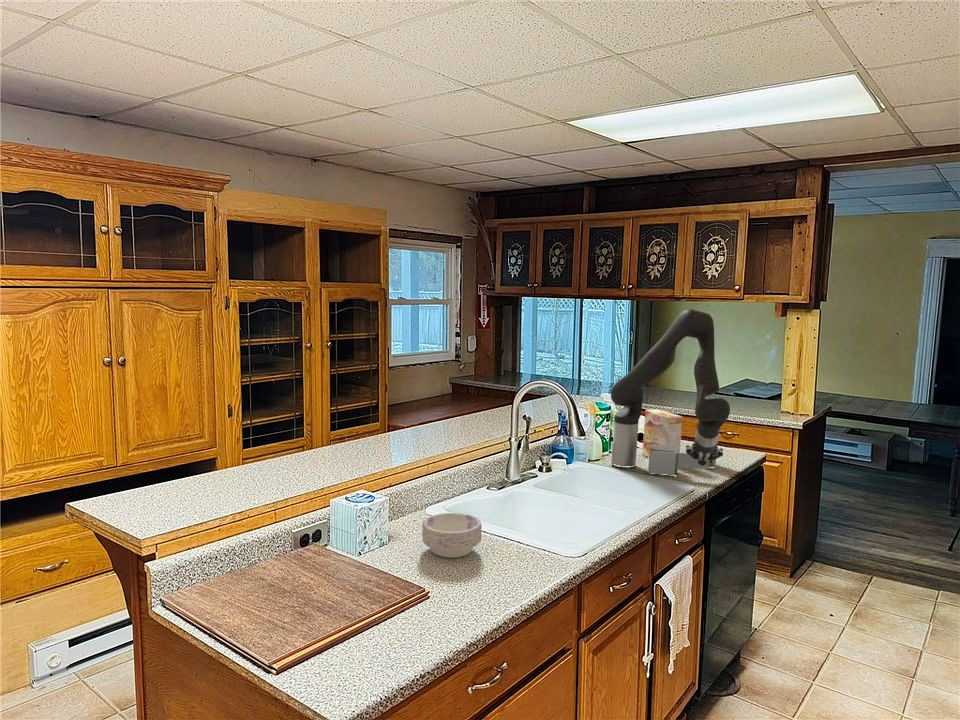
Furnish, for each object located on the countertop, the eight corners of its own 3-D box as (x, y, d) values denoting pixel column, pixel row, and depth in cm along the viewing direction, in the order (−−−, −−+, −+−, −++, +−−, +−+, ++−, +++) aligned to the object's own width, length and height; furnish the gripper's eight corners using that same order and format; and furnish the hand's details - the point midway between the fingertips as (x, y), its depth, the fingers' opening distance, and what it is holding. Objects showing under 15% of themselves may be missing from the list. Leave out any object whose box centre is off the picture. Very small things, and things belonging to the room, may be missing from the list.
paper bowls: (414, 543, 177) (415, 514, 176) (469, 537, 182) (469, 509, 181) (431, 566, 163) (432, 535, 162) (489, 559, 168) (490, 529, 167)
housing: (648, 474, 250) (649, 449, 249) (648, 467, 259) (650, 443, 258) (673, 476, 248) (675, 451, 247) (672, 470, 257) (674, 446, 256)
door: (648, 474, 249) (650, 450, 248) (648, 473, 250) (650, 449, 249) (706, 480, 244) (708, 455, 243) (706, 479, 245) (708, 455, 244)
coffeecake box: (641, 455, 277) (644, 409, 275) (655, 454, 280) (658, 408, 278) (665, 465, 264) (669, 416, 261) (679, 463, 267) (683, 415, 264)
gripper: (727, 429, 227) (721, 456, 240) (686, 426, 230) (682, 452, 244) (727, 448, 223) (721, 474, 236) (686, 445, 226) (682, 470, 239)
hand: (701, 463), depth 240 cm, fingers closed
